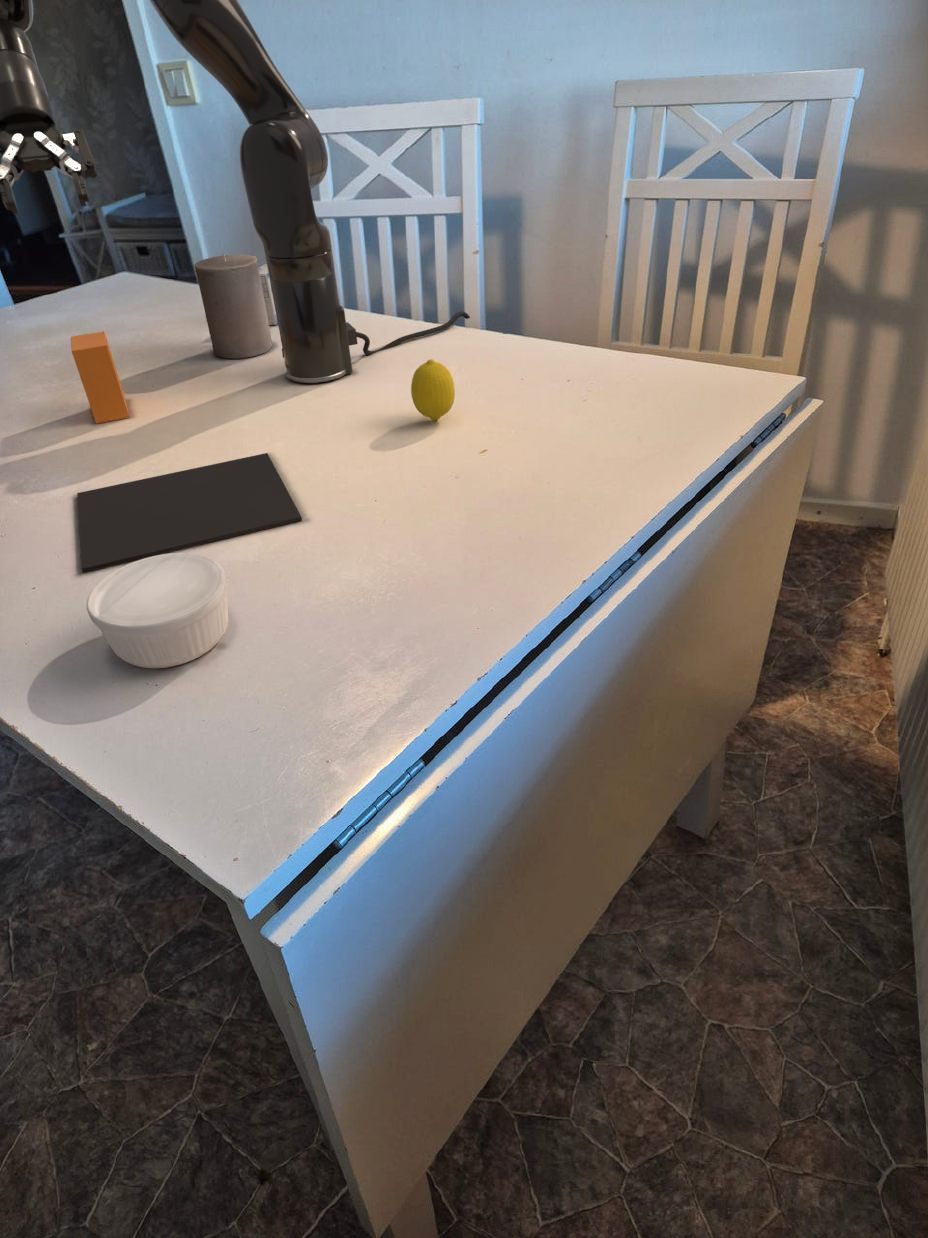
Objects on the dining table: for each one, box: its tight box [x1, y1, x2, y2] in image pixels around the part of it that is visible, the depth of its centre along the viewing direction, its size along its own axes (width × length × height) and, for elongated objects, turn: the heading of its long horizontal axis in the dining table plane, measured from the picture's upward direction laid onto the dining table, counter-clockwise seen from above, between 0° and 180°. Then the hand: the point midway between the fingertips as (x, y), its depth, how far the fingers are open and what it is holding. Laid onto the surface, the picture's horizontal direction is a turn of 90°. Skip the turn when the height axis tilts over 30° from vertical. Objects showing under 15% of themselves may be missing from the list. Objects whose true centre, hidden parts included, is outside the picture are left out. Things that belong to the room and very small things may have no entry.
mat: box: [76, 452, 303, 573], centre depth 89 cm, size 22×18×1 cm
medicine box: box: [258, 263, 278, 326], centre depth 145 cm, size 8×4×9 cm, turn 168°
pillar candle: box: [194, 251, 273, 360], centre depth 129 cm, size 10×10×15 cm
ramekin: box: [86, 552, 229, 669], centre depth 68 cm, size 11×11×5 cm
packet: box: [70, 331, 130, 425], centre depth 111 cm, size 4×7×10 cm, turn 23°
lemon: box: [410, 359, 456, 422], centre depth 103 cm, size 6×6×8 cm
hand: (49, 206), depth 108 cm, fingers open, 8 cm apart
